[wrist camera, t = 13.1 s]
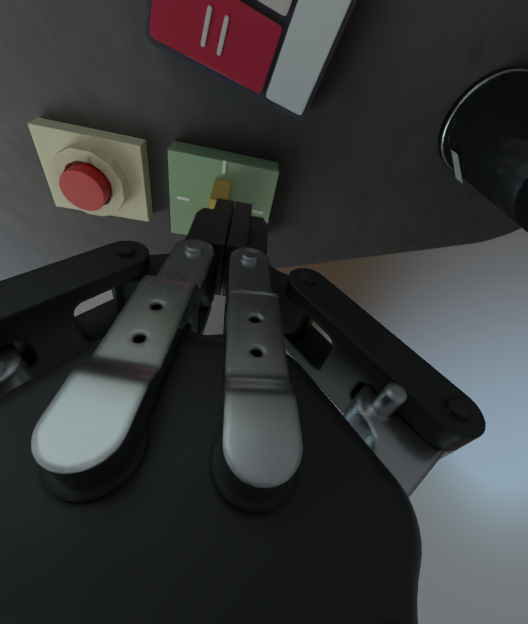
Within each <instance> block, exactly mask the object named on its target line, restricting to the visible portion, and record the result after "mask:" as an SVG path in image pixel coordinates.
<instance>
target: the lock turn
mask: <svg viewBox="0 0 528 624" xmlns="http://www.w3.org/2000/svg"><path fill="white" fill-rule="evenodd" d="M230 189H231V182H230V181H225V180H220V179H215V182H214V186H213V189H212V193H211V196H210V202H209V209H214V207H215V204H216V201H217V198H220V199H226V200H229V198H230Z"/></svg>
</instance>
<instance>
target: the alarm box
mask: <svg viewBox="0 0 528 624" xmlns="http://www.w3.org/2000/svg"><path fill="white" fill-rule="evenodd" d="M28 126H29V129H30V132H31V135H32V138H33V141H34V143H35V146H36V149H37V152H38V155H39V158H40V161H41V164H42V166H43V169H44V172H45V175H46V178H47V181H48V184H49V186H50V189H51V192H52V195H53V198H54V201H55V204H56V206H58V207H64V208H70V209H76V210H82V211H84V212H86V213H88V214H93V215H99V216H107V215H112V216H118V217H124V218H130V219H136V220H142V221H149V220H150V218H151V216H152V214H153V209H152V198H151V187H150V177H149V166H148V155H147V145H146V140H145V139H140V138H136V137H131V136H126V135H121V134H116V133H111V132H106V131H102V130H97V129H92V128H87V127H82V126H77V125H73V124H68V123H63V122H58V121H53V120H48V119H43V118H37V119H35V120H33V121H31V122H29V123H28ZM76 163H86V164H89V165H92V166H94V167H95V168H97V169H98V170H100V171H101V172H102V173H103V174H104V175H105V177H106V178H107V180H108V181H109V184H110V187H111V195H110V197H109V199H108V200H107V201H106V202H105V203H104V205H103V206H102V207H101V208H100V209H98V210H95V211H87V210H83V209H80V208H78V207H76V206H75V205H73V204H72V203H71V202H70V201H68V200H67V199H66V197H65V196H64V195H63V193H62V191H61V189H60V186H59V179H60V176H61V174H62V173H63V172H65V171H66V170H67V169H68V168H69V167H71V166H72V165H73V164H76Z"/></svg>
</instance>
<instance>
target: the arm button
mask: <svg viewBox="0 0 528 624" xmlns="http://www.w3.org/2000/svg"><path fill="white" fill-rule="evenodd" d="M59 186H60V189H61V191H62V193H63V195H64V196H65V197H66V199H67V200H68V201H70V202H71V203H72V204H73V205H75V206H76V207H78V208H80V209H83V210H87V211H95V210H98V209H100V208H101V207H102V206H103V205H104V203H105V202H106V201H107V200H108V199H109V197H110V195H111V187H110V184H109V181H108V180H107V178H106V177H105V175H104V174H103V173H102V172H101V171H100V170H98V169H97V168H95V167H94V166H92V165H89V164H86V163H76V164H73V165H72V166H71V167H69V168H68V169H67V170H66V171H65V172H63V173H62V174H61V176H60V179H59Z"/></svg>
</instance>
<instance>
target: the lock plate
mask: <svg viewBox="0 0 528 624" xmlns="http://www.w3.org/2000/svg"><path fill="white" fill-rule="evenodd" d="M168 168H169V190H170V212H171V232H172V233H178V234H184V235H187V234H188V232H189V230H190V227H191V225H192V222H193V220H194V217H195V215H196V212H198V211H199V210H201V209H202V208H209V202H210V196H211V193H212V189H213V186H214V182H215V179H220V180H225V181H230V182H231V189H230V198H229V200H232V201H235V202H234V208H235V203H236V201H238V202H244V203H249V204H252V213H251V216H257V217H263V218H264V220H265V221H266V223H267V224H268V220H269V215H270V211H271V207H272V202H273V198H274V193H275V189H276V184H277V180H278V175H279V166H278V162H274V161H270V160H265V159H260V158H255V157H250V156H246V155H241V154H236V153H231V152H227V151H222V150H217V149H212V148H207V147H203V146H198V145H193V144H188V143H183V142H179V141H173V142H172V144H171V145H170V147H169V148H168Z"/></svg>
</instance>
